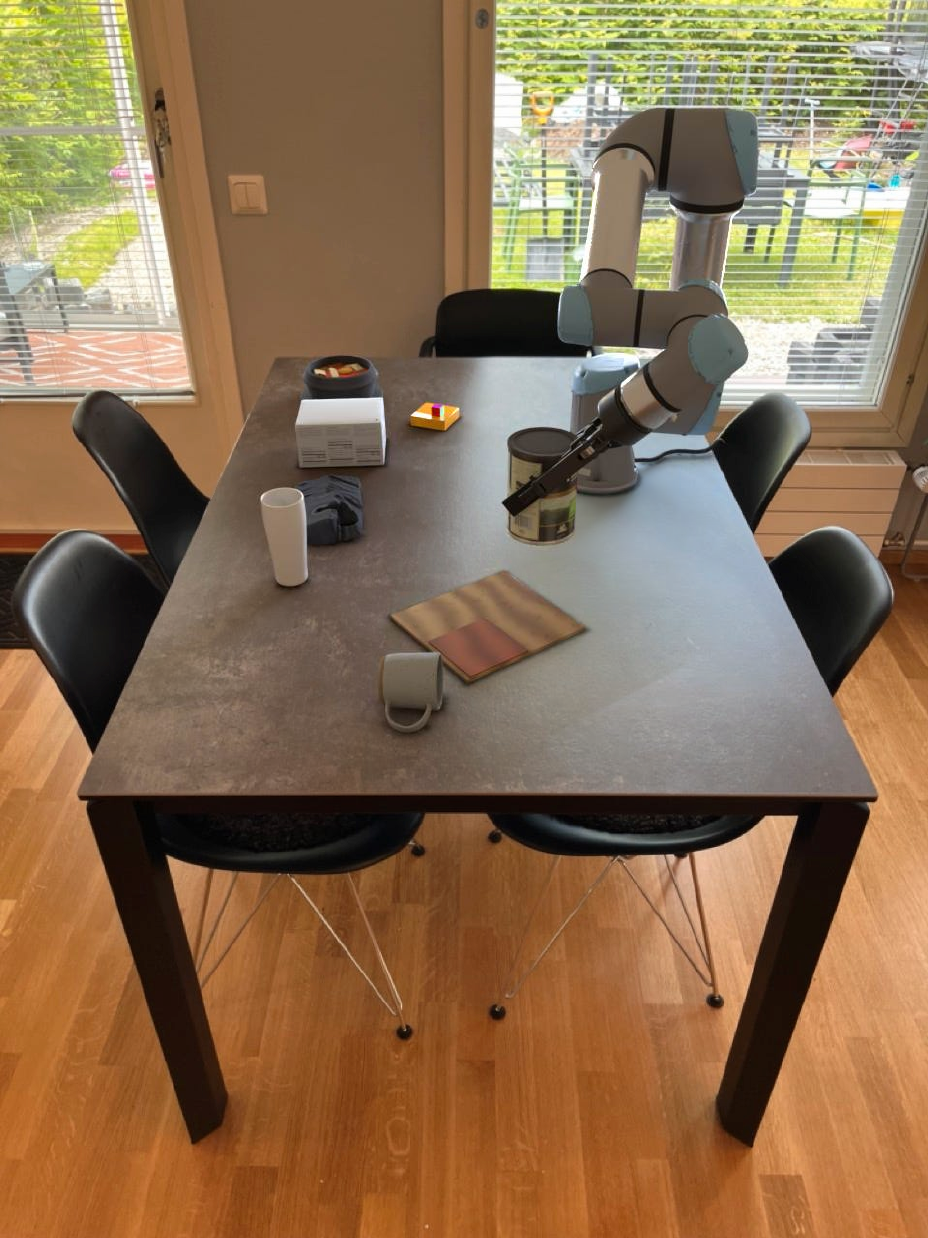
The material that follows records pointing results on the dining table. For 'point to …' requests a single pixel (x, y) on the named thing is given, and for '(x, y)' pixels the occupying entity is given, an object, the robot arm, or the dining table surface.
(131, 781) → the dining table surface
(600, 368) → the robot arm
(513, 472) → the coffee can
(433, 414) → the yellow tile with knob
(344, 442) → the supplement box
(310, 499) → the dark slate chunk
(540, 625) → the placemat
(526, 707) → the dining table surface
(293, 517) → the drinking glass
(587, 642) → the dining table surface
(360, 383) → the casserole
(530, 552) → the dining table surface
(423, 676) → the ceramic mug
